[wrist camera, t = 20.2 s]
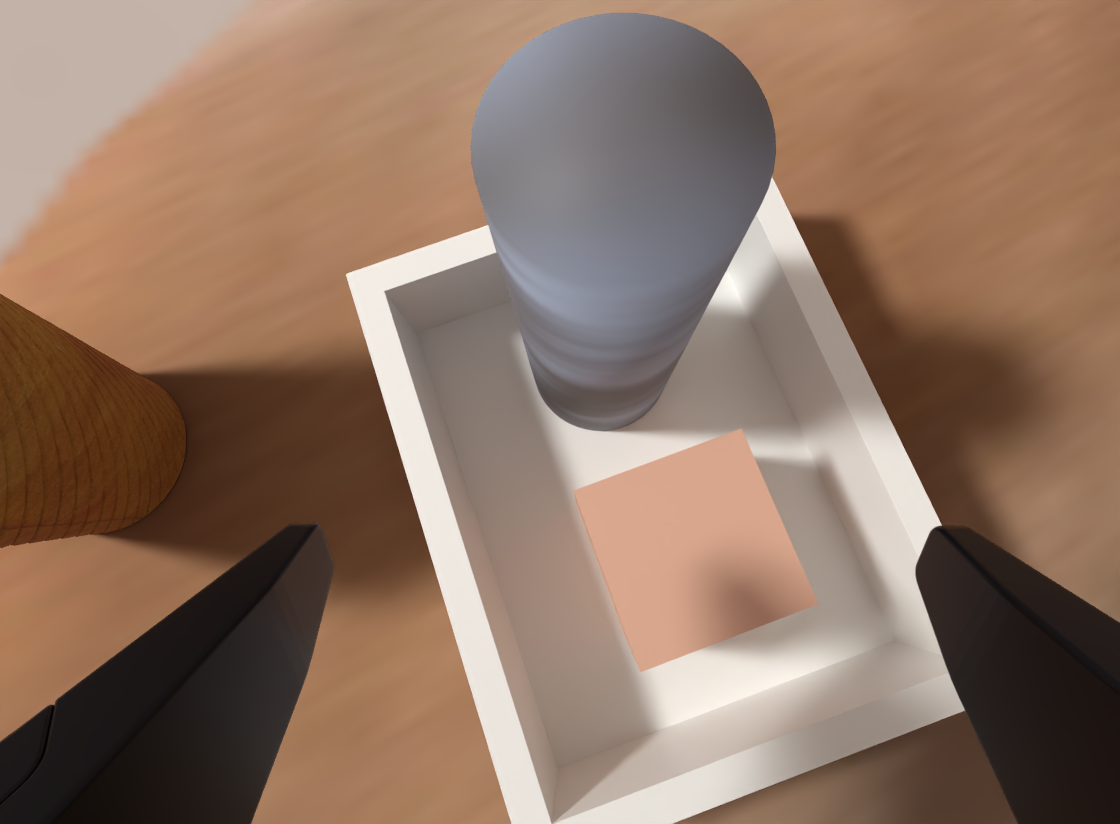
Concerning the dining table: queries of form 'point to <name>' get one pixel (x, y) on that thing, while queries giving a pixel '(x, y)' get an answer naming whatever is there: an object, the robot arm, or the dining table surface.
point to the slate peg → (617, 200)
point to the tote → (573, 571)
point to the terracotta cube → (692, 550)
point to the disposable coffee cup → (77, 435)
